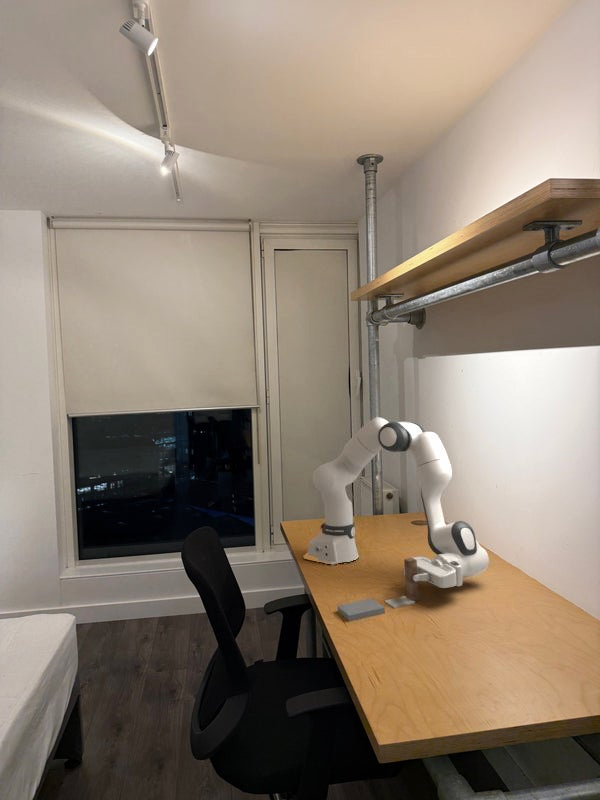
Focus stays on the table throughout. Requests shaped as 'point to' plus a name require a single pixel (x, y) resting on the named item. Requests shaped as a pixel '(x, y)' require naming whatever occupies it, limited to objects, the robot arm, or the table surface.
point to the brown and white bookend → (407, 586)
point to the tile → (360, 609)
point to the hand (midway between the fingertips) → (408, 575)
